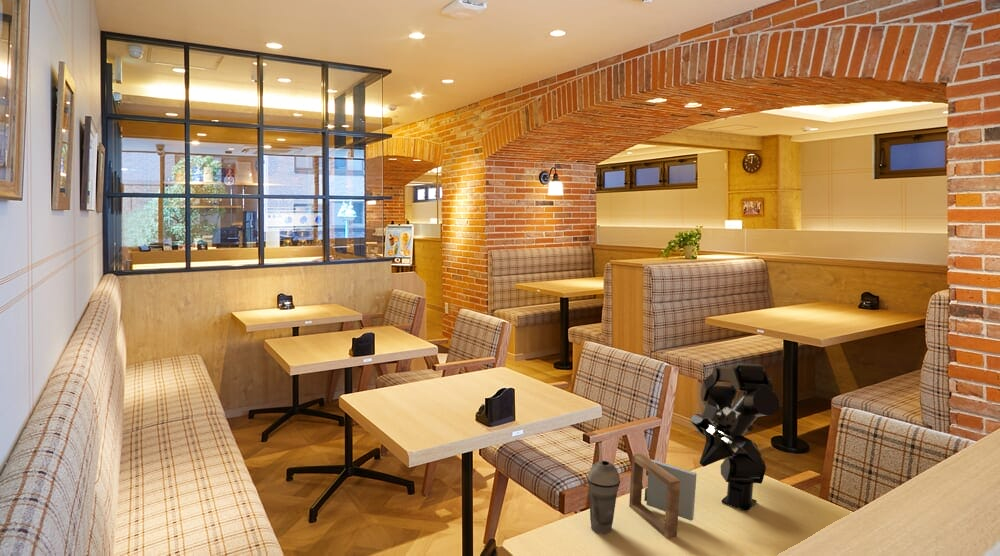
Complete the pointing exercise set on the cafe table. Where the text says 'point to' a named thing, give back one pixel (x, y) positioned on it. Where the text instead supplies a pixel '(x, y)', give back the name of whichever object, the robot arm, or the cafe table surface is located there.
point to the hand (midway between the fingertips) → (701, 464)
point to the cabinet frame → (672, 497)
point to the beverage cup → (602, 494)
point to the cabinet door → (658, 490)
